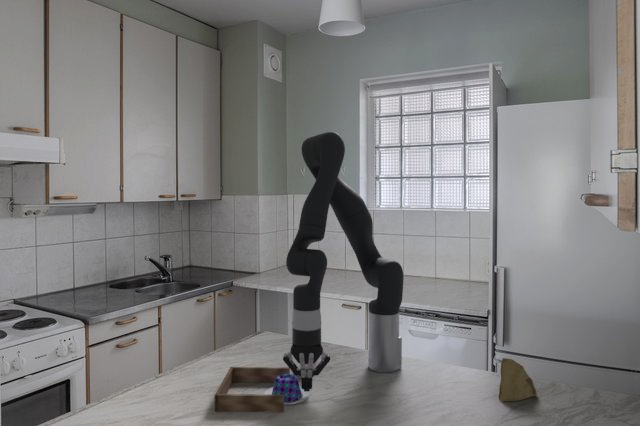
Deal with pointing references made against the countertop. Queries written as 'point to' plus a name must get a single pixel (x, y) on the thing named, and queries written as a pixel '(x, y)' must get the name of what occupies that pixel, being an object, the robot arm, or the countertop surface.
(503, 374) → the rock
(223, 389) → the box
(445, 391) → the countertop surface
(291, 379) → the pudding
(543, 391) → the countertop surface
